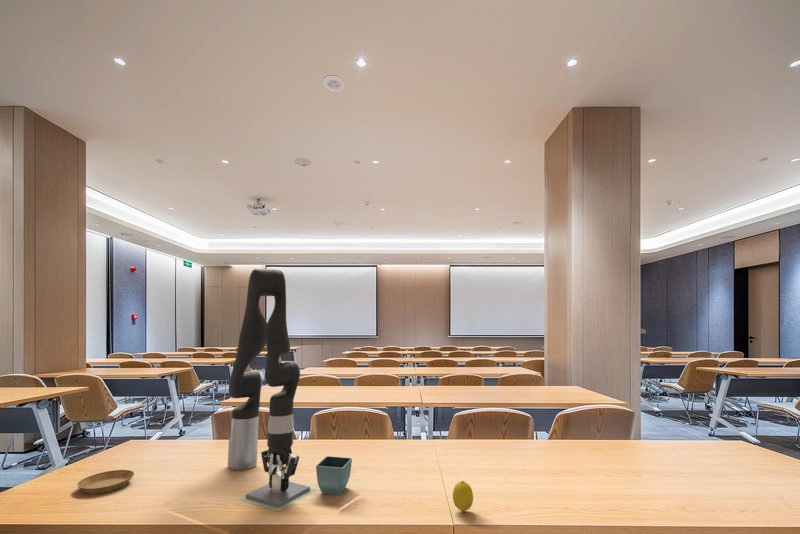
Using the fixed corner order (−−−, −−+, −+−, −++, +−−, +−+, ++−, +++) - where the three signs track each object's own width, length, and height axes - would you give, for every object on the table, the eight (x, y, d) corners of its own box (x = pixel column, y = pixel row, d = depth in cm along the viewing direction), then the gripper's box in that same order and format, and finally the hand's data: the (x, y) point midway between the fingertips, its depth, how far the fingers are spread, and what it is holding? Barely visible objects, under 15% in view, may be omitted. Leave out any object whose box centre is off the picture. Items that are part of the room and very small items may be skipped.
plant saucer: (115, 496, 120) (116, 487, 120) (63, 498, 119) (64, 488, 119) (143, 477, 134) (143, 469, 135) (97, 478, 133) (98, 470, 134)
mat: (237, 501, 116) (237, 498, 116) (279, 481, 130) (279, 479, 130) (277, 513, 108) (277, 511, 108) (316, 491, 122) (316, 489, 122)
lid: (245, 497, 116) (246, 478, 117) (279, 482, 128) (279, 464, 128) (277, 507, 110) (278, 487, 111) (309, 490, 121) (310, 471, 122)
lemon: (451, 507, 111) (450, 477, 112) (470, 506, 111) (469, 476, 113) (455, 517, 106) (454, 485, 107) (475, 516, 106) (475, 484, 107)
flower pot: (342, 500, 116) (343, 467, 117) (314, 497, 118) (315, 465, 119) (352, 487, 125) (352, 457, 126) (325, 485, 126) (326, 455, 128)
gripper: (254, 429, 122) (252, 489, 119) (288, 435, 115) (287, 499, 112) (273, 423, 128) (271, 480, 126) (306, 429, 121) (305, 489, 119)
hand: (278, 488), depth 119 cm, fingers closed on lid, 4 cm apart
